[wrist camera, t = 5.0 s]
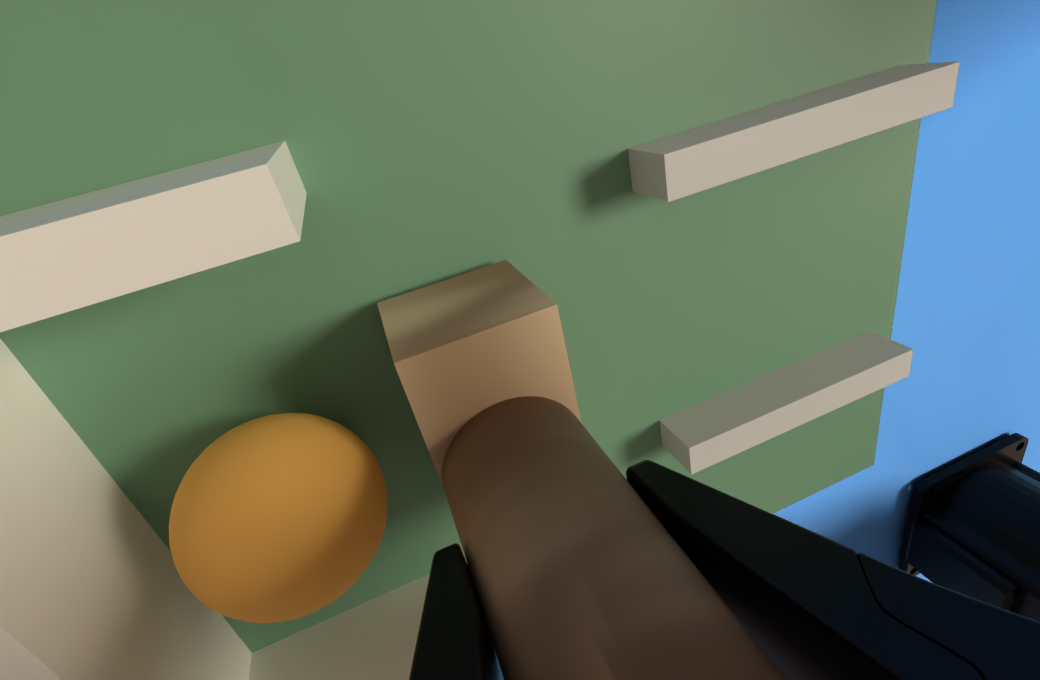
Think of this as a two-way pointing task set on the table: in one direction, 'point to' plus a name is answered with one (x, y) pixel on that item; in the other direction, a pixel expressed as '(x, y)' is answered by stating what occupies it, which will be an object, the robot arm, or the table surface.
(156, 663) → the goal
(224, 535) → the ball
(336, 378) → the pitch
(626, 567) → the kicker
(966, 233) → the table surface
